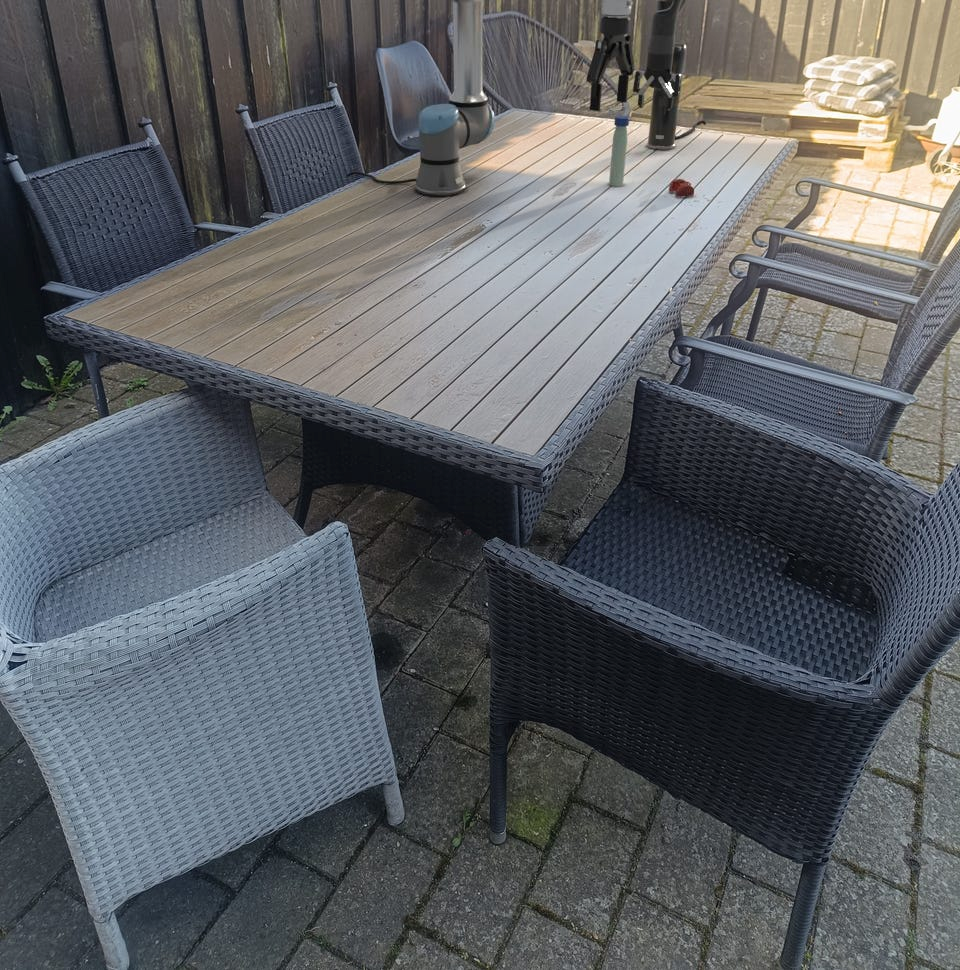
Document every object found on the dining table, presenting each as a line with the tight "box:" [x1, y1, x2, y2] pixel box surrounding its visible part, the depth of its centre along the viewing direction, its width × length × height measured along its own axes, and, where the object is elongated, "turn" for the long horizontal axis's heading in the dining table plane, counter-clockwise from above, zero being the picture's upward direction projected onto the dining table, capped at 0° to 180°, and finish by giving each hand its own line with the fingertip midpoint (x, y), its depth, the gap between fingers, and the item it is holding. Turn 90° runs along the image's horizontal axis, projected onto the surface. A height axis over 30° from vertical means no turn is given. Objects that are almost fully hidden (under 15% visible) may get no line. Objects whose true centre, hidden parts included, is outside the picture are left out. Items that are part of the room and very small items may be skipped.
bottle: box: [608, 126, 629, 187], centre depth 258 cm, size 4×4×19 cm
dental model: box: [668, 178, 695, 198], centre depth 254 cm, size 6×4×8 cm
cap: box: [614, 114, 630, 127], centre depth 252 cm, size 4×4×2 cm
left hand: (608, 106), depth 226 cm, fingers open, 13 cm apart
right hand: (654, 108), depth 261 cm, fingers open, 8 cm apart
